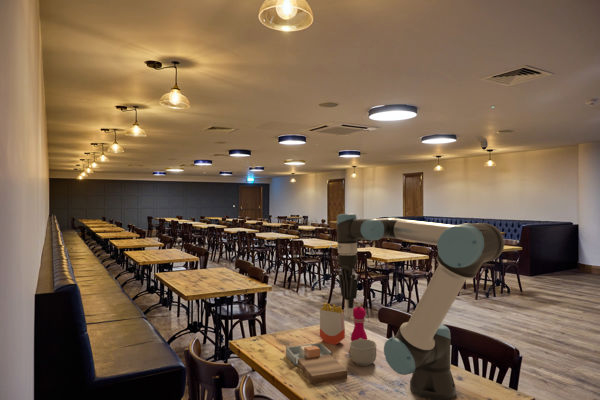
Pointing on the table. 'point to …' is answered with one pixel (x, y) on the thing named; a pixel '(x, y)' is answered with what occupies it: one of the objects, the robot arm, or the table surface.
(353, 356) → the teacup
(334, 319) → the french fries container
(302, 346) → the cream square block
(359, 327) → the pepper mill
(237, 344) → the table surface
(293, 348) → the tray
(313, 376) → the walnut board
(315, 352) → the orange square block
